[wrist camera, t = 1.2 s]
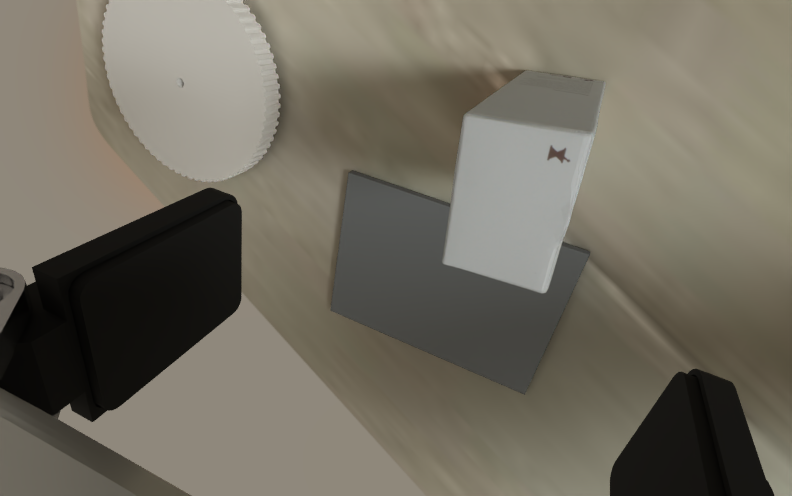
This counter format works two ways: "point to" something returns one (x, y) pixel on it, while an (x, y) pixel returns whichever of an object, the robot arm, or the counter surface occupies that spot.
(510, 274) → the skincare box
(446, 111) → the counter surface
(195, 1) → the plastic lid
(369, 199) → the mat
